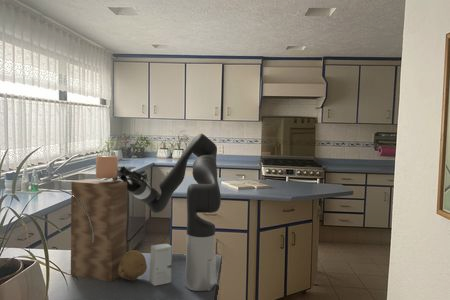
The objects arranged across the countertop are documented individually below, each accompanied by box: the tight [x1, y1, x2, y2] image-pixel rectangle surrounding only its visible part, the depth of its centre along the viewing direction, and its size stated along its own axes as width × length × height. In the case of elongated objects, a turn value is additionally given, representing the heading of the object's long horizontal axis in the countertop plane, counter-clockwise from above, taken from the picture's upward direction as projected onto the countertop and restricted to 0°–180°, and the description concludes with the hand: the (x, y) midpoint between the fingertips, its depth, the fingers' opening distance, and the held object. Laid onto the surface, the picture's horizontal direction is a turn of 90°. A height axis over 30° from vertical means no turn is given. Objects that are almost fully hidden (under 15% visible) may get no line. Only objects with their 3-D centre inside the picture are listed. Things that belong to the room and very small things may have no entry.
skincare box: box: [149, 243, 173, 286], centre depth 116 cm, size 6×4×12 cm
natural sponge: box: [118, 249, 148, 281], centre depth 116 cm, size 9×9×10 cm
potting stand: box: [70, 178, 128, 283], centre depth 121 cm, size 16×8×32 cm, turn 74°
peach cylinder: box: [95, 155, 132, 179], centre depth 123 cm, size 7×16×7 cm, turn 164°
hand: (117, 168), depth 124 cm, fingers closed on peach cylinder, 3 cm apart
